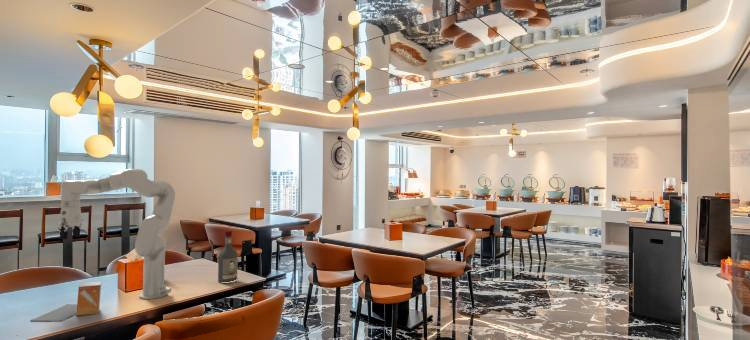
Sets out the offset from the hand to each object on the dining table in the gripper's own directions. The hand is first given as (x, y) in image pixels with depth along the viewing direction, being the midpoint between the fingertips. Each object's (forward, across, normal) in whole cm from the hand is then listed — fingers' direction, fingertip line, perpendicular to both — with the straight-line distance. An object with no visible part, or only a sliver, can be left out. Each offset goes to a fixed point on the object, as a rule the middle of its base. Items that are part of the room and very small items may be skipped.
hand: (70, 237), depth 194 cm
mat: (+30, -24, -13) cm, 41 cm away
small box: (+30, -26, -23) cm, 46 cm away
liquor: (+31, +20, -73) cm, 82 cm away
